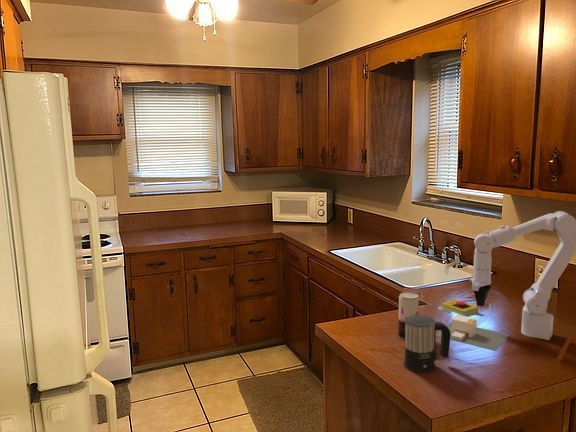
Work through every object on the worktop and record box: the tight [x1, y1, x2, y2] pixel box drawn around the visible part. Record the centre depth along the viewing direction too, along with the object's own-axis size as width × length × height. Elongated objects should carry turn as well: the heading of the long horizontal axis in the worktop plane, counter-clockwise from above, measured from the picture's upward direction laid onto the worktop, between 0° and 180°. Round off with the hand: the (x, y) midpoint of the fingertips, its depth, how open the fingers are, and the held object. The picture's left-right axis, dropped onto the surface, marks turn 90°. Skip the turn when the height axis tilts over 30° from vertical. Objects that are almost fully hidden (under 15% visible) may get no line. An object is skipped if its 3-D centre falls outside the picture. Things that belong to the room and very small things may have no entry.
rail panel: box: [436, 321, 510, 352], centre depth 161 cm, size 20×16×2 cm
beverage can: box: [397, 291, 420, 340], centre depth 163 cm, size 6×7×15 cm
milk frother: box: [403, 314, 451, 374], centre depth 145 cm, size 14×16×15 cm
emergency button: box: [437, 299, 482, 317], centre depth 186 cm, size 9×4×15 cm
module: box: [451, 315, 478, 338], centre depth 163 cm, size 7×4×5 cm, turn 51°
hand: (480, 305), depth 166 cm, fingers closed
